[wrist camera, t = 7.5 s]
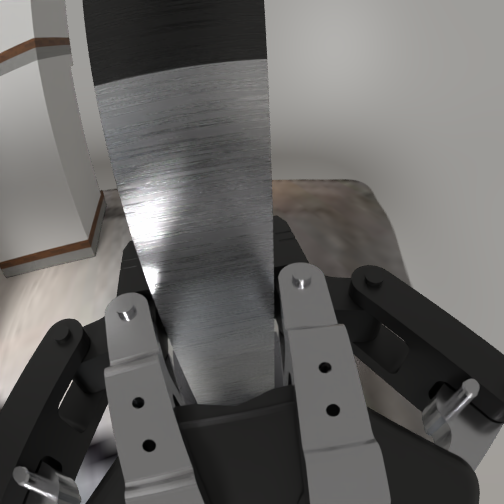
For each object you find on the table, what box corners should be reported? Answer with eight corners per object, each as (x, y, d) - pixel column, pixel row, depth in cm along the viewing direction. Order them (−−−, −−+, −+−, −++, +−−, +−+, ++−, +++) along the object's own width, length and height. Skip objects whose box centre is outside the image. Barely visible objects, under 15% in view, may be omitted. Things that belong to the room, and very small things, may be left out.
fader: (190, 441, 13) (16, -18, 2) (181, 371, 16) (80, 1, 6) (297, 421, 13) (327, -62, 3) (276, 354, 16) (265, -26, 6)
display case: (106, 204, 37) (62, -65, 15) (95, 256, 29) (32, -94, 7) (31, 224, 35) (-24, -24, 13) (6, 277, 27) (-72, -32, 5)
